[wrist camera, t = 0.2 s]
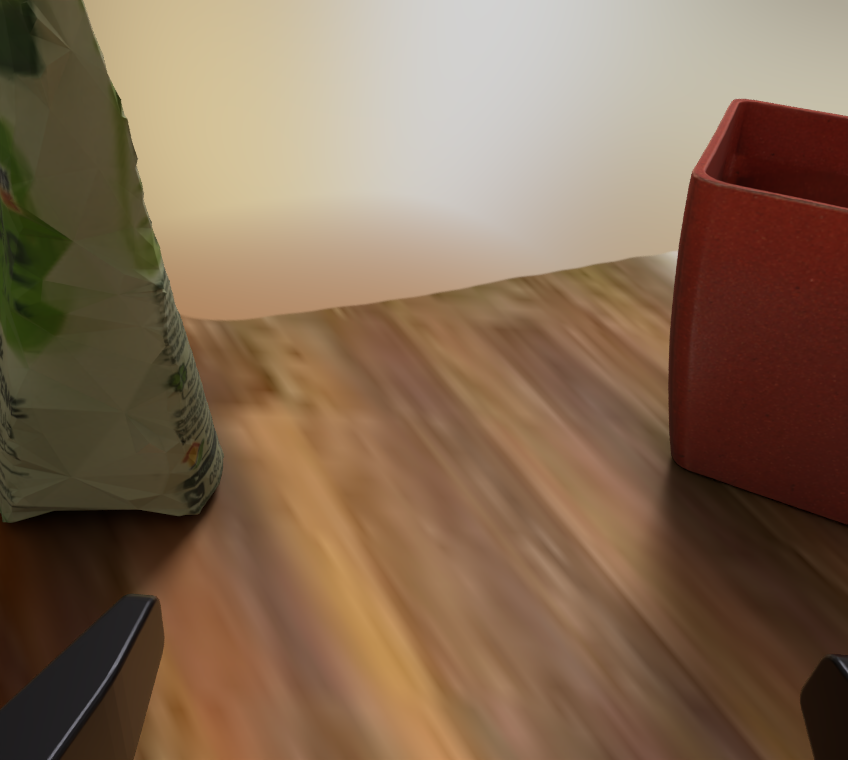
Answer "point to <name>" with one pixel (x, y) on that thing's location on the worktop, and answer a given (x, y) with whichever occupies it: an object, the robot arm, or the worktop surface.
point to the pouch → (85, 294)
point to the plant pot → (765, 309)
